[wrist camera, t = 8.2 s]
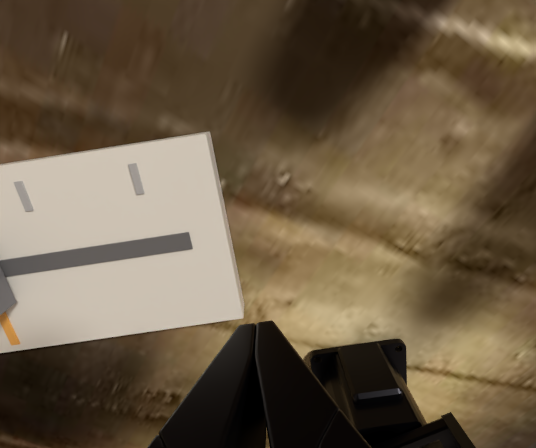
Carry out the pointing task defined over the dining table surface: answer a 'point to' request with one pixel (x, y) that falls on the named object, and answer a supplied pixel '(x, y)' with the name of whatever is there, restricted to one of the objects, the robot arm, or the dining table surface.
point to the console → (115, 243)
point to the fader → (5, 294)
